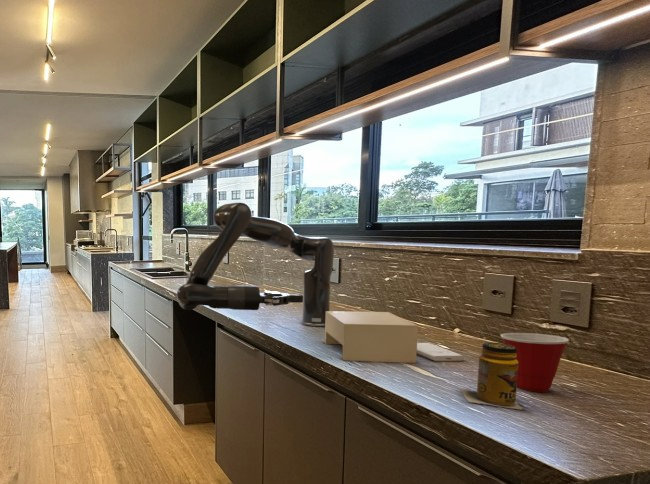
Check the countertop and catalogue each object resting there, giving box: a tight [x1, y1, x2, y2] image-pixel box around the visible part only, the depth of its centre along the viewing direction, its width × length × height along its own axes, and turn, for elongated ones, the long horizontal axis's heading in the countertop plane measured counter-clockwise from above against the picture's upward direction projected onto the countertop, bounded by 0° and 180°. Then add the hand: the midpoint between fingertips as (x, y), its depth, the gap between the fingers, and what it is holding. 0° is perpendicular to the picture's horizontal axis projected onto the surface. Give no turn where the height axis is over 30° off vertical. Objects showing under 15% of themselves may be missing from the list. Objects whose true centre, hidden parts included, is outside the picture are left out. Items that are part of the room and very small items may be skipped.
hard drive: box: [417, 342, 465, 362], centre depth 118 cm, size 2×8×12 cm
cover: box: [324, 310, 419, 364], centre depth 121 cm, size 18×18×10 cm
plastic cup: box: [500, 332, 570, 393], centre depth 92 cm, size 11×11×12 cm
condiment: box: [459, 341, 523, 410], centre depth 86 cm, size 7×8×12 cm
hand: (302, 298), depth 123 cm, fingers closed
